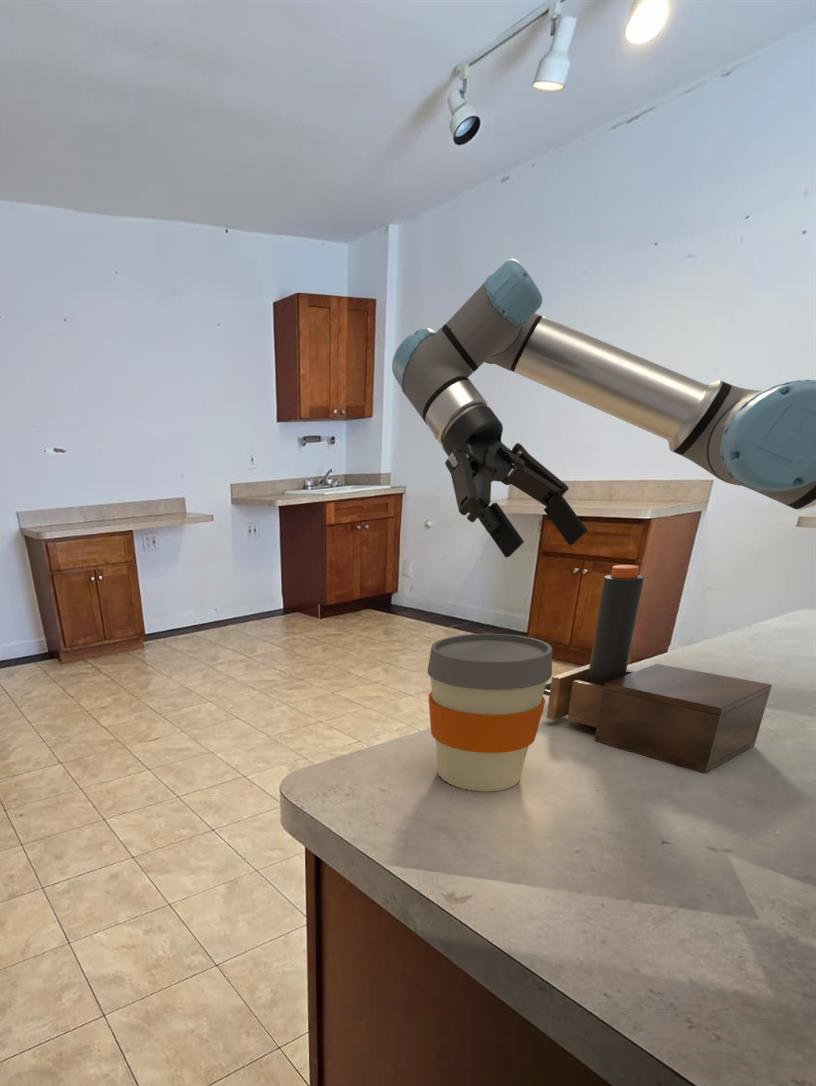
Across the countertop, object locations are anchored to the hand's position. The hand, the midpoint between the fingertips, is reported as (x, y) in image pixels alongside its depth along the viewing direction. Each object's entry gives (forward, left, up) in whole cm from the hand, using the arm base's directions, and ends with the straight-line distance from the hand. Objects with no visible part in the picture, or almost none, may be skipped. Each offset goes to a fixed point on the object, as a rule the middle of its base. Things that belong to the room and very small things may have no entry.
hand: (548, 544), depth 84 cm
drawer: (-8, +7, -21) cm, 24 cm away
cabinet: (-15, +13, -22) cm, 30 cm away
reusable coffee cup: (+7, +25, -23) cm, 35 cm away
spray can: (-8, +7, -20) cm, 23 cm away
